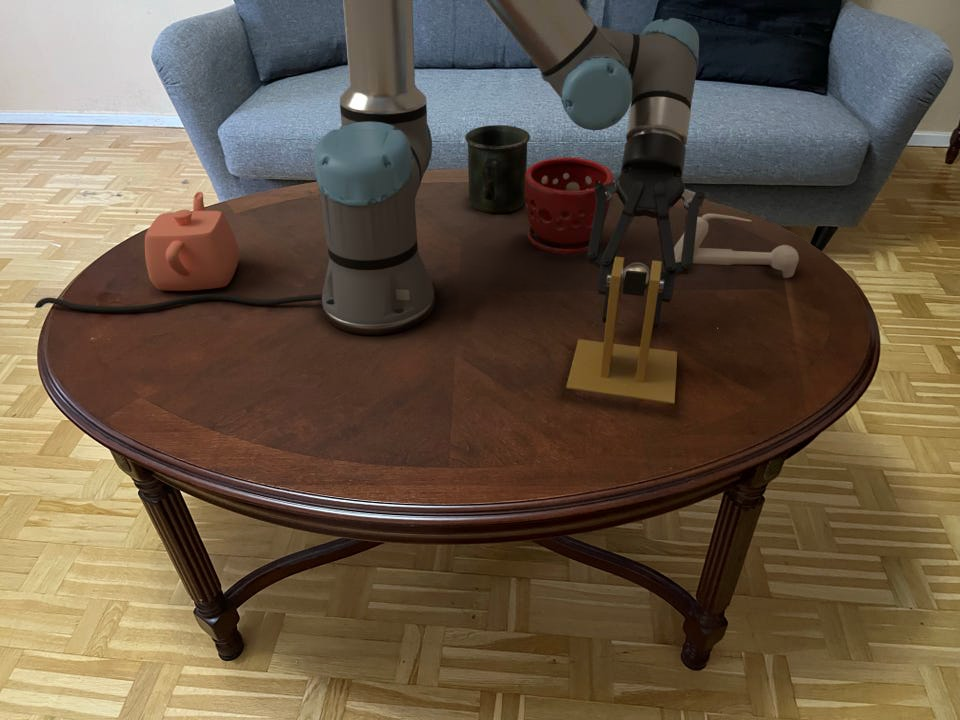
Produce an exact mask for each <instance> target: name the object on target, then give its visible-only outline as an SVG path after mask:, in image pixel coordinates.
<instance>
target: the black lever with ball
mask: <svg viewBox="0 0 960 720" xmlns="http://www.w3.org/2000/svg"><path fill="white" fill-rule="evenodd" d="M650 274H651V268H649V267H648V266H647V264H645V263H642V262H632V263H629V264H628V265H627V266H625V267H624V268H623V274H622V282H621V284H622V285H623V288H622V294H623V295H630V296H637V297H644V296H645V290H648V288H649V281H650Z"/></svg>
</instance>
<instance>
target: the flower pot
mask: <svg viewBox="0 0 960 720" xmlns="http://www.w3.org/2000/svg"><path fill="white" fill-rule="evenodd" d="M565 174H568V177H567V178H565V177H564V175H565ZM544 177H546V181H545V182H543V181H542V180H543V178H544ZM587 177H589V178H590V180H591V181H590V183H588V182H587V180H586V178H587ZM556 179H557V182H556V183H554V181H555V180H556ZM570 183H576V184H577V185H578V187H579V190H567V186H568V184H570ZM596 183H602V184H603V185H606V184H611V183H614V175H613V173H612V171H611V170H610V168H608V167H607V166H605V164H602V163H599V162H597V161H594V160H590V159H586V158H580V157H571V156H569V157H568V156H567V157H553V158H546V159H542V160H540V161H538V162H535V163H533V164H532V165H530V166H529V167H527V171H526V174H525V203H524V204H525V210H526V211H525V212H526V216H527V219H528V222H529V224H530V226H529V227H528V230H527V237H528V240H529V242H530V243H531V244H532V245H533V246H535V247H536V248H538V249H541V250H542V251H546V252H550V253H553V254H554V253H555V254H564V255H565V254H568V255H570V254H571V255H572V254H581V253H585V252H588V247H589V242H590V236H591V230H592V225H593V219H594V213H595V208H596V199H595V191H594V186H595V184H596ZM610 204H611V201H610V202H609V203H606V216H605V219H606V218H607V215H608V213H609V210H610ZM537 237H538V238H537ZM538 239H539V240H541V241H542V242H543V243H541V242H539V241H538Z"/></svg>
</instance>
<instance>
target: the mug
mask: <svg viewBox="0 0 960 720" xmlns="http://www.w3.org/2000/svg"><path fill="white" fill-rule="evenodd" d="M464 140H465V142H466V143H467V167H468V172H467V173H468V175H467V176H468V202H469V203H470V205H471V206H472V207H473V208H474V209H475V210H477V211H479V212H481V213H482V212H483V213H488V214H507V213H511V212H514V211H517V210H519V209H520V208H522V207H523V206H524V204H525V174H526V171H527V170H528V167H527V166H528V165H527V164H528V142H529V141H530V140H531V136H530V133H529V132H528V131H527V130H525V129H523V128H520V127H517V126H512V125H505V124H504V125H503V124H492V125H484V126H479V127H476V128H473V129H471V130H469V131H468V132H467V133H466V134H465V137H464Z"/></svg>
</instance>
